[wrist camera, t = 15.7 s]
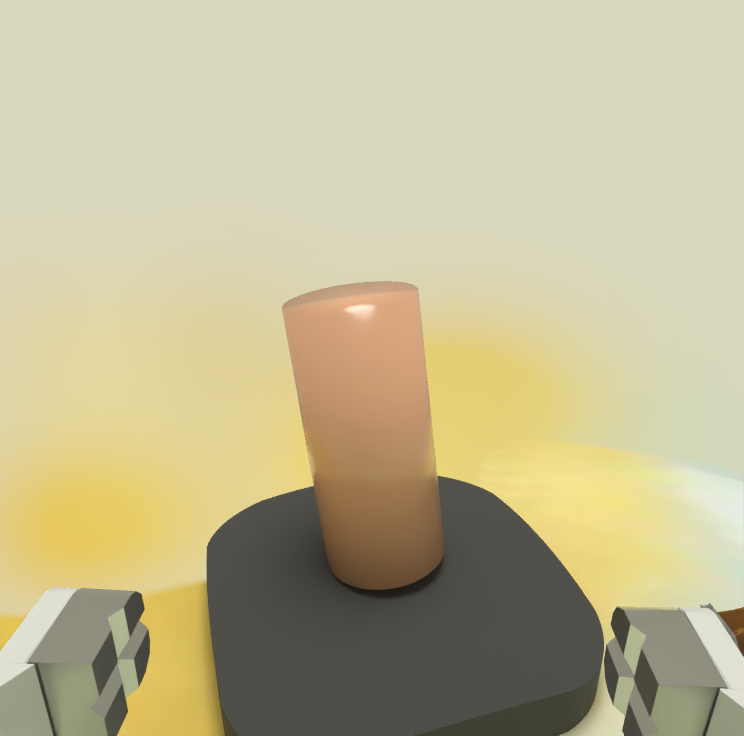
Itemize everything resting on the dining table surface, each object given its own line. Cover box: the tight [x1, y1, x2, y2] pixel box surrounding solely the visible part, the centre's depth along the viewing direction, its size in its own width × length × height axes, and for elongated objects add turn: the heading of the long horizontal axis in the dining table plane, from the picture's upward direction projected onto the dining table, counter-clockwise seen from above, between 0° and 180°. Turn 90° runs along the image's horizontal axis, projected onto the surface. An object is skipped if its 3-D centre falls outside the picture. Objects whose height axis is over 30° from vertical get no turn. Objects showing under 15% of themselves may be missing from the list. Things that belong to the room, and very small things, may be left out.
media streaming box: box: [207, 476, 604, 736], centre depth 26 cm, size 15×15×3 cm
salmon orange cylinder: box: [282, 282, 445, 590], centre depth 24 cm, size 5×5×11 cm
